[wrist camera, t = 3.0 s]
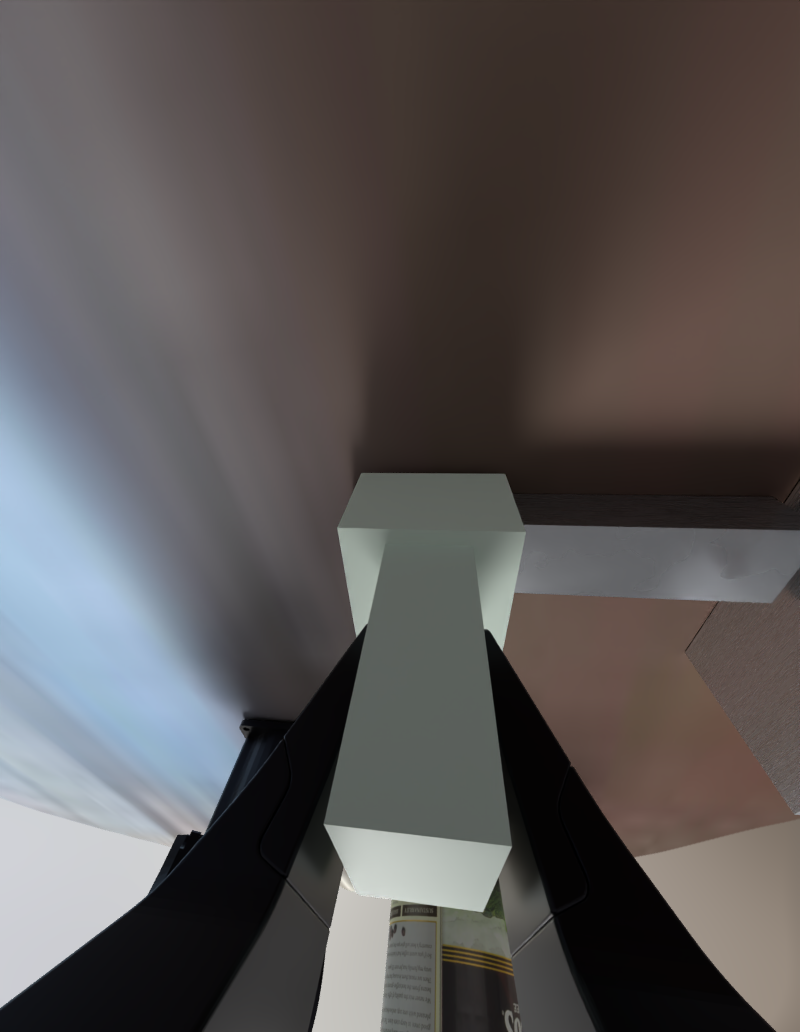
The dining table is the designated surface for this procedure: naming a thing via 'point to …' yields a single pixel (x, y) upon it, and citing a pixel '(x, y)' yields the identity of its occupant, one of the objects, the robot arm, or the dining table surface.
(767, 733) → the grey blocky piece
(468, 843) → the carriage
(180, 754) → the dining table surface
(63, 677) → the dining table surface
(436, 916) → the coffee can
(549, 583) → the rail
